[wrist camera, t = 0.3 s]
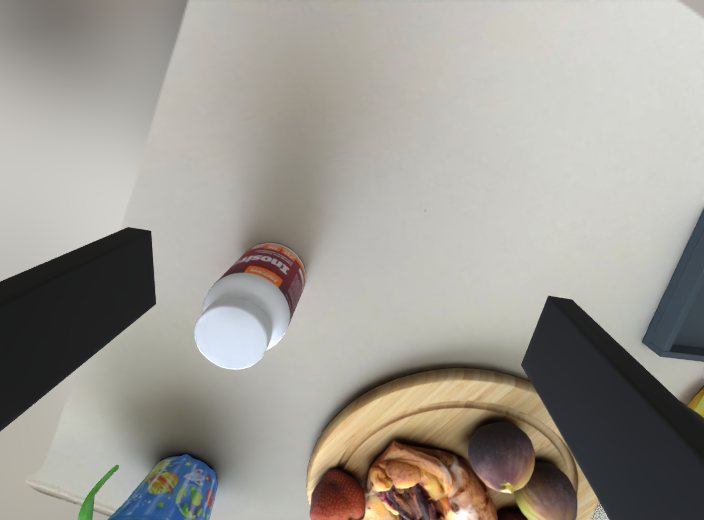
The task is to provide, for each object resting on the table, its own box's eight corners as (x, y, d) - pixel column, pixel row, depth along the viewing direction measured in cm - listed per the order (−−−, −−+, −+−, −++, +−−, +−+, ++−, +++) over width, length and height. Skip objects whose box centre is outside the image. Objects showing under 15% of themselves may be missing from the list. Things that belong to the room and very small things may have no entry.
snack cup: (106, 457, 41) (29, 556, 32) (163, 411, 39) (98, 504, 29) (207, 529, 45) (166, 637, 36) (265, 492, 43) (238, 597, 33)
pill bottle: (304, 239, 32) (275, 293, 21) (309, 302, 34) (285, 379, 23) (234, 241, 32) (172, 295, 22) (244, 303, 34) (192, 380, 24)
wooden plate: (270, 522, 44) (250, 605, 37) (380, 315, 34) (385, 371, 26) (494, 594, 48) (519, 684, 40) (656, 428, 38) (732, 506, 30)
